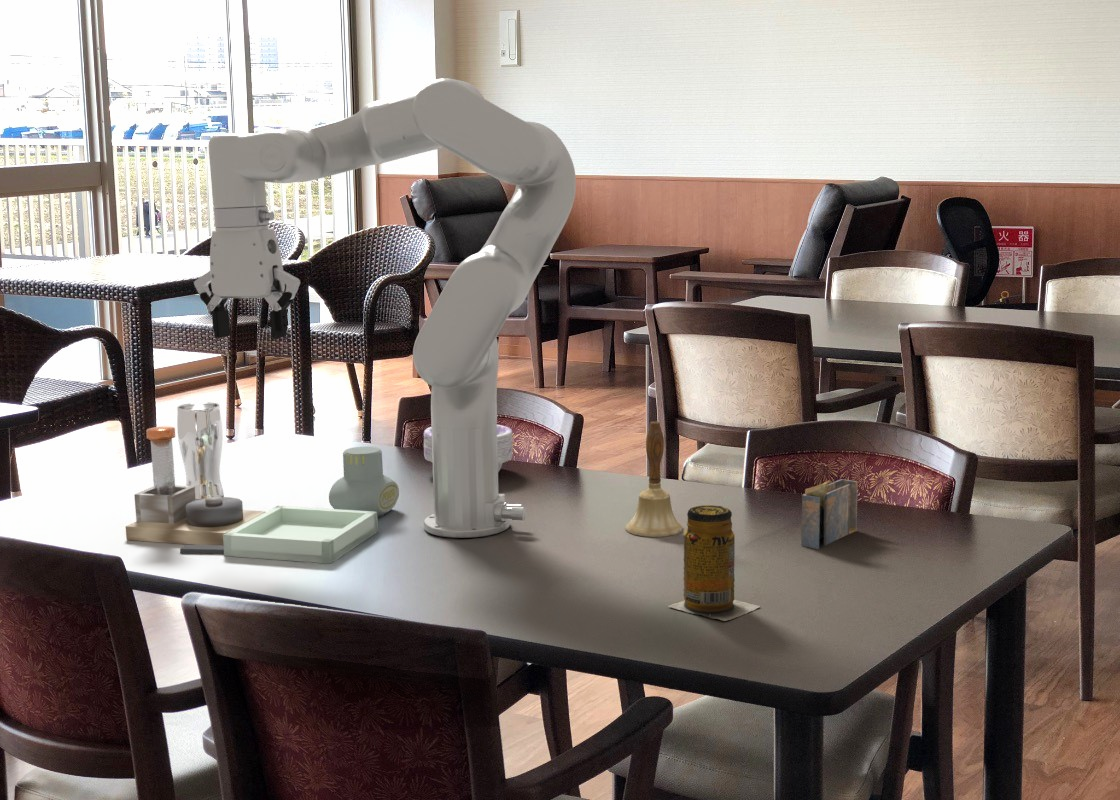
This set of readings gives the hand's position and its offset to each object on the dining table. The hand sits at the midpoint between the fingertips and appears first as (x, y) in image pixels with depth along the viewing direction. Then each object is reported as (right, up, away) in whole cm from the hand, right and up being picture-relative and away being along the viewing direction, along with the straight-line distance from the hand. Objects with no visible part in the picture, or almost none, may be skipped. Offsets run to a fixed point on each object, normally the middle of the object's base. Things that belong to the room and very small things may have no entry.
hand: (250, 337), depth 199 cm
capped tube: (-13, -27, +1) cm, 29 cm away
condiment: (+64, -34, -37) cm, 81 cm away
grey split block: (+84, -29, -8) cm, 89 cm away
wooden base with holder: (-8, -29, 0) cm, 30 cm away
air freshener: (+16, -27, +9) cm, 32 cm away
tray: (+9, -30, -7) cm, 32 cm away
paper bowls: (+30, -22, +33) cm, 50 cm away
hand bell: (+59, -28, -3) cm, 66 cm away
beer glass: (-12, -25, +20) cm, 35 cm away
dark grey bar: (0, -30, -11) cm, 32 cm away
